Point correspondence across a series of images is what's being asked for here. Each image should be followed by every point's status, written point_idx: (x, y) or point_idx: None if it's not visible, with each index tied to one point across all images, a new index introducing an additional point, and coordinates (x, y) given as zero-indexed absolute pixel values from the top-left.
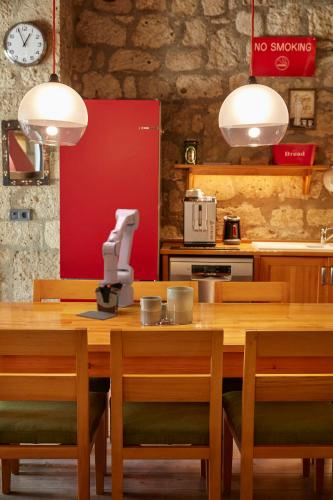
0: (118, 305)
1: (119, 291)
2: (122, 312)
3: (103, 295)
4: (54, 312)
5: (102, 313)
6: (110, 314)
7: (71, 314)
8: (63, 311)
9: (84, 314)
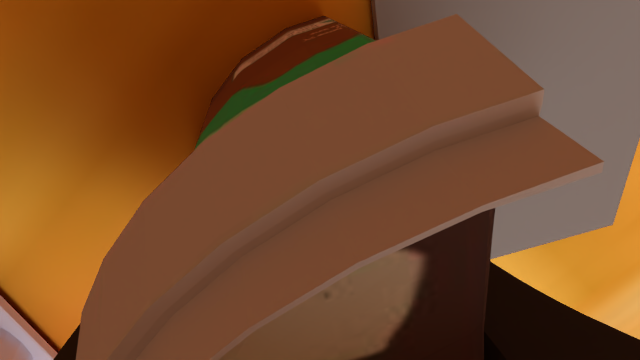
0: (13, 320)
1: (273, 246)
2: (151, 41)
3: None
4: None
5: None
6: (426, 7)
7: (577, 268)
8: None
9: (575, 193)
